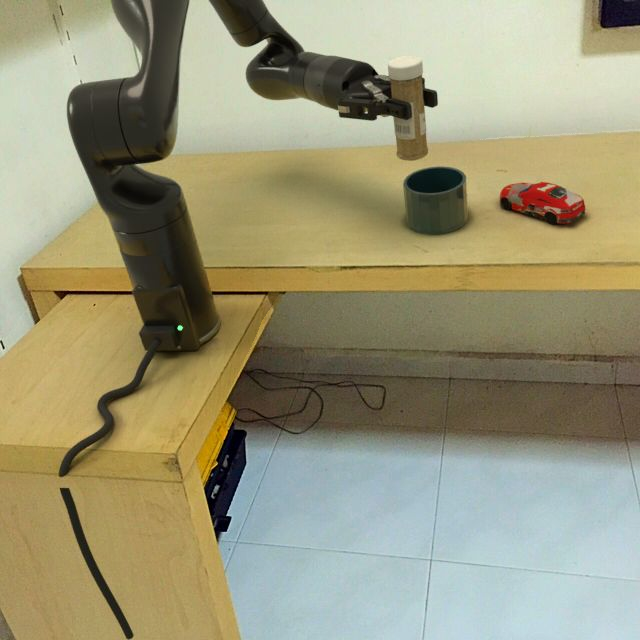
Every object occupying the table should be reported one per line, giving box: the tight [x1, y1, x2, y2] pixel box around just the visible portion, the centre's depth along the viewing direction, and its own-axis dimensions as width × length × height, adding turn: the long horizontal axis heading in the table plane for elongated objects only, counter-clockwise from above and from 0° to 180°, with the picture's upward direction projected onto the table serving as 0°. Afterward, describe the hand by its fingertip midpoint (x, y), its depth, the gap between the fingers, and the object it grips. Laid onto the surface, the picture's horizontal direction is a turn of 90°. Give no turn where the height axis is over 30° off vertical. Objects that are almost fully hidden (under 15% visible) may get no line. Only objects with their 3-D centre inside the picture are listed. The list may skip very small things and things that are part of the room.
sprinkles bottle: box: [387, 55, 429, 162], centre depth 103 cm, size 5×5×13 cm
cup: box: [402, 166, 469, 236], centre depth 111 cm, size 9×9×6 cm
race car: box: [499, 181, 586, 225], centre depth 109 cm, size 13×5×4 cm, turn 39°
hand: (422, 105), depth 100 cm, fingers closed on sprinkles bottle, 4 cm apart
